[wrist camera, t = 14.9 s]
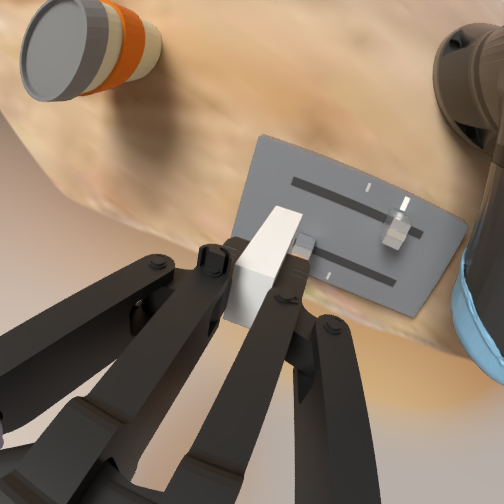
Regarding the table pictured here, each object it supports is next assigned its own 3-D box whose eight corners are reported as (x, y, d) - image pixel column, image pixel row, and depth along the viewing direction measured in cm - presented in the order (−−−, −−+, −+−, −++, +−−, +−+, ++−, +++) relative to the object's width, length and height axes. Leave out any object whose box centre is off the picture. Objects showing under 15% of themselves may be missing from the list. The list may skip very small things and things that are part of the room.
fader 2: (407, 215, 32) (411, 226, 29) (395, 237, 33) (398, 251, 30) (391, 207, 32) (394, 218, 29) (379, 230, 34) (381, 243, 31)
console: (464, 220, 32) (469, 227, 30) (412, 308, 39) (413, 318, 37) (263, 134, 35) (258, 136, 33) (234, 236, 42) (228, 243, 41)
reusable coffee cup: (192, 35, 32) (110, 16, 19) (139, 110, 38) (54, 127, 25) (133, -5, 30) (51, -23, 17) (89, 65, 37) (8, 72, 24)
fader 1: (315, 239, 36) (311, 252, 34) (307, 260, 38) (302, 274, 35) (299, 232, 37) (294, 245, 34) (291, 254, 38) (285, 267, 35)
